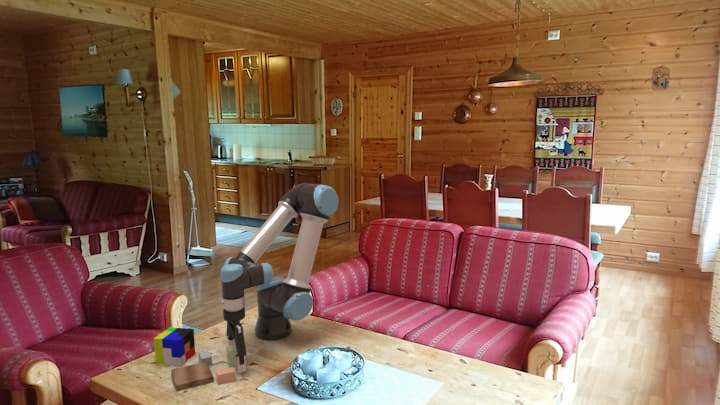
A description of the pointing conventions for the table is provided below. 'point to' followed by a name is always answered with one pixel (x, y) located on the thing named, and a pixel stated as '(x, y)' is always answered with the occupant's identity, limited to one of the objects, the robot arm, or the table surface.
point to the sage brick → (233, 356)
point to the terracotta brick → (226, 375)
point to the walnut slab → (192, 376)
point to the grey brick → (205, 357)
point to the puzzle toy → (174, 346)
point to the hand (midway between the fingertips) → (237, 364)
